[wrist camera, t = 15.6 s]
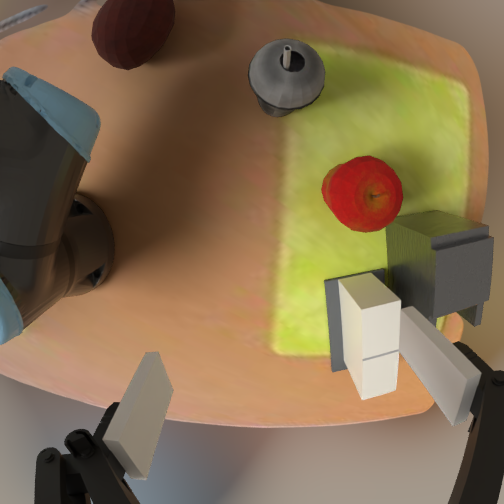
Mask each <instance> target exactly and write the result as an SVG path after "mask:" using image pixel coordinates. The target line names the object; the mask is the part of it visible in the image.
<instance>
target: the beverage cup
mask: <svg viewBox="0 0 504 504" xmlns="http://www.w3.org/2000/svg"><path fill="white" fill-rule="evenodd" d="M248 78H249V82H250V86H251V88H252V90H253V91H254V93H255V94H256V96H257V98H258V102H259V105H260V106H261V108H262V110H263V111H264V112H265V113H266V114H268V115H270V116H274V117H281V116H285V115H287V114H289V113H291V112H292V111H294V110H296V109H302V108H304V107H306V106H308V105H310V104H312V103H313V102H314V101H315V100H316V99H317V98H318V97H319V96H320V94H321V92H322V90H323V88H324V80H325V69H324V65H323V61H322V60H321V58H320V57H319V55H318V54H317V52H316V51H315V50H314V49H313V48H311V47H310V46H309V45H307V44H305V43H303V42H301V41H299V40H293V39H280V40H275V41H273V42H270V43H268V44H266V45H265V46H263V47H262V48H261V49H260V50H259V51H258V52H257V53H256V54H255V56H254V57H253V59H252V61H251V63H250V65H249V71H248Z"/></svg>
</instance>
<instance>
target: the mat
mask: <svg viewBox="0 0 504 504" xmlns="http://www.w3.org/2000/svg"><path fill="white" fill-rule="evenodd" d="M366 273H372V274H373V275H374V276H375V277H376V278H378V279H379V280H380V281H381V282H382V283H383V284H384V285H385V280H384V269H383V268H382V269H377V270H372V271H368V272H363V273H358V274H353V275H348V276H343V277H338V278H333V279H328V280H324V283H325V293H326V303H327V314H328V325H329V338H330V352H331V367H332V372H336V371H340V370H345V369H348V368H347V366H346V364H345V362H344V353H343V335H342V320H341V306H340V295H339V284H338V279H343V278H348V277H352V276H357V275H362V274H366Z"/></svg>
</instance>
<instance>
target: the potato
mask: <svg viewBox="0 0 504 504" xmlns="http://www.w3.org/2000/svg"><path fill="white" fill-rule="evenodd" d="M174 18H175V7H174V3H173V0H107V1H106V2H105V4H104V5H103V6H102V8H101V9H100V10H99V12H98V14H97V16H96V18H95V20H94V22H93V28H92V41H93V43H94V45H95V47H96V50H97V52H98V54H99V55H100V56H101V57H102V58H103V59H104V60H105V61H107V62H108V63H109V64H111V65H112V66H113V67H116V68H120V69H125V70H130V69H133V68H136V67H139V66H141V65H142V64H143V63H145V62H146V61H148V60H149V59H150V58H152V56H153V55H154V54H155V53H156V52H157V51H158V50H159V49H160V47H161V46H162V45H163V44H164V43H165V41H166V39H167V37H168V35H169V33H170V31H171V29H172V27H173V25H174Z"/></svg>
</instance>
